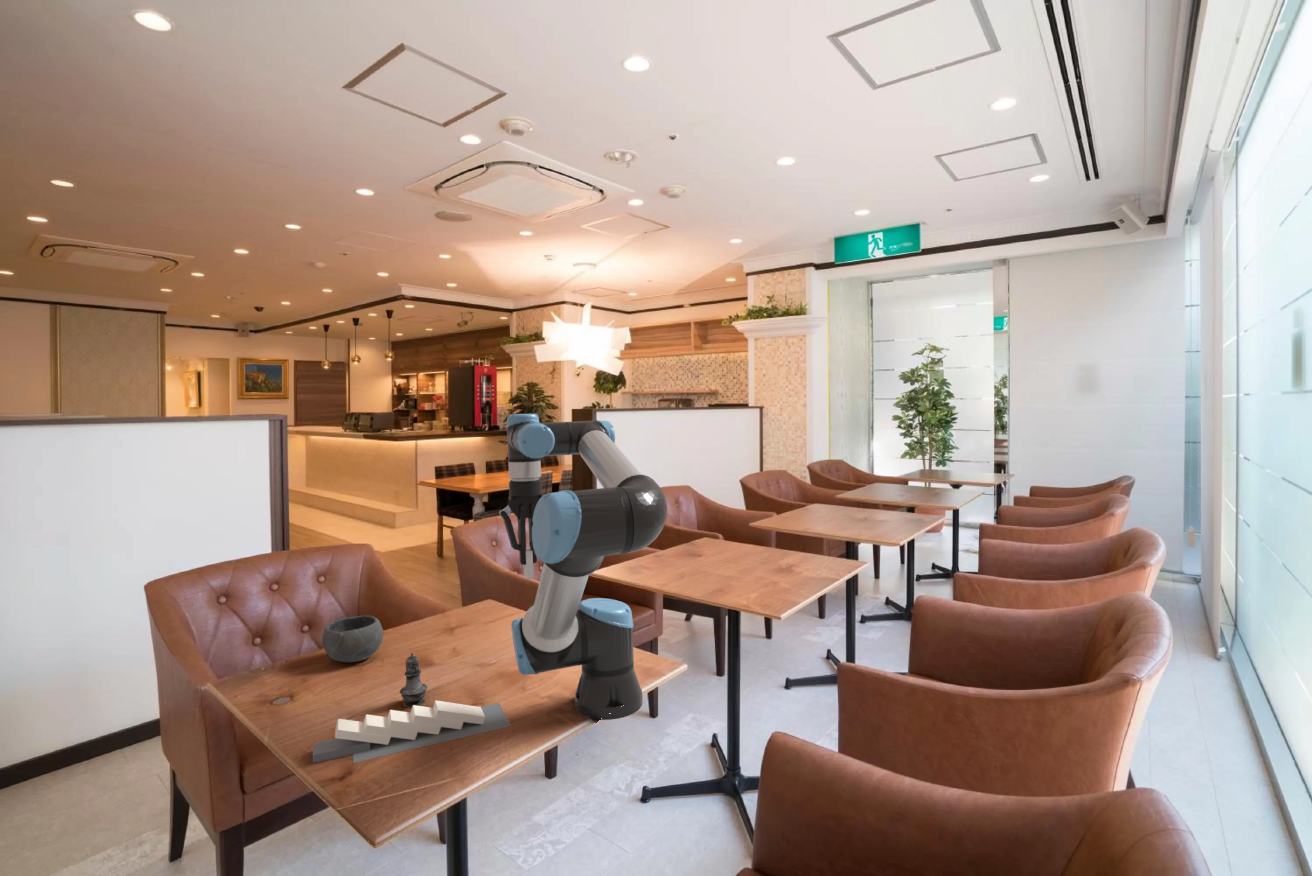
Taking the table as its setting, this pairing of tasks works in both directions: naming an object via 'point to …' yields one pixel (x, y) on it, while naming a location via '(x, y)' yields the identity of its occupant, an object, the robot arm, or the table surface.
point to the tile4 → (384, 728)
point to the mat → (492, 721)
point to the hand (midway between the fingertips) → (529, 577)
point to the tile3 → (408, 723)
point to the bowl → (352, 638)
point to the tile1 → (458, 712)
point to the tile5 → (357, 732)
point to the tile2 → (431, 718)
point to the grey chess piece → (413, 683)
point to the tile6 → (337, 749)
